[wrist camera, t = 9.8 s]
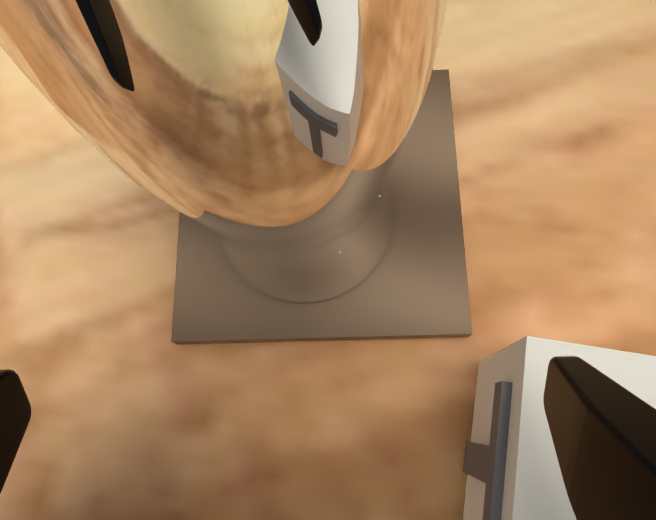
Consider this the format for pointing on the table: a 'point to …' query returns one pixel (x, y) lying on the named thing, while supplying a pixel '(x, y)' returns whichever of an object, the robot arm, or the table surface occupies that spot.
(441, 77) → the coaster
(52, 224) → the table surface
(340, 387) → the table surface
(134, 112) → the beer glass
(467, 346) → the table surface
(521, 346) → the letter block
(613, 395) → the robot arm
